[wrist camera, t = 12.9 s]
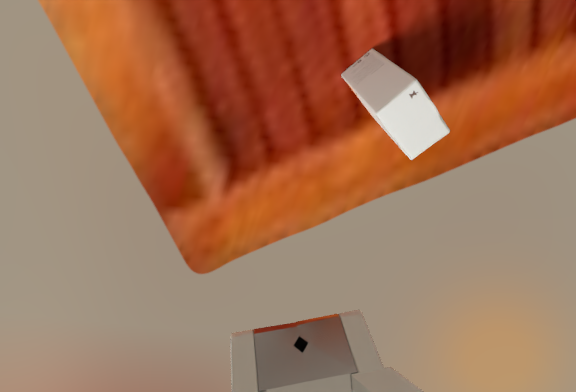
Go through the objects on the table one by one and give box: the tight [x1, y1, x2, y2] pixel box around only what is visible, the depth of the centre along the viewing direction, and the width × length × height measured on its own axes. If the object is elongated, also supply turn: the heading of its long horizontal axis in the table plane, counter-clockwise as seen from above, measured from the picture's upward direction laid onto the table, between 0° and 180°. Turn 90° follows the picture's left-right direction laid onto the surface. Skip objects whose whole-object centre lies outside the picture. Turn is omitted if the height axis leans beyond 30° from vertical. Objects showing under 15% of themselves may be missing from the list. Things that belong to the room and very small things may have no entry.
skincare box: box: [341, 48, 450, 160], centre depth 41 cm, size 6×4×12 cm
